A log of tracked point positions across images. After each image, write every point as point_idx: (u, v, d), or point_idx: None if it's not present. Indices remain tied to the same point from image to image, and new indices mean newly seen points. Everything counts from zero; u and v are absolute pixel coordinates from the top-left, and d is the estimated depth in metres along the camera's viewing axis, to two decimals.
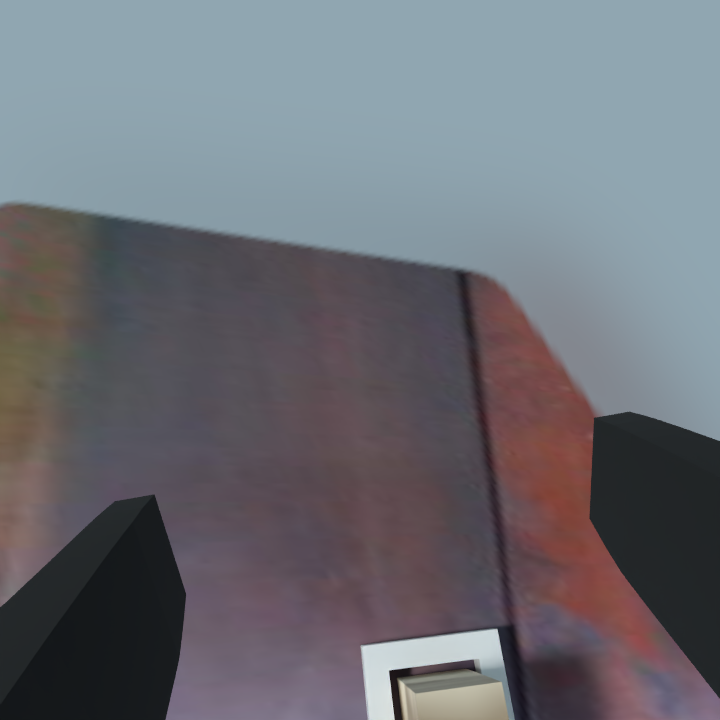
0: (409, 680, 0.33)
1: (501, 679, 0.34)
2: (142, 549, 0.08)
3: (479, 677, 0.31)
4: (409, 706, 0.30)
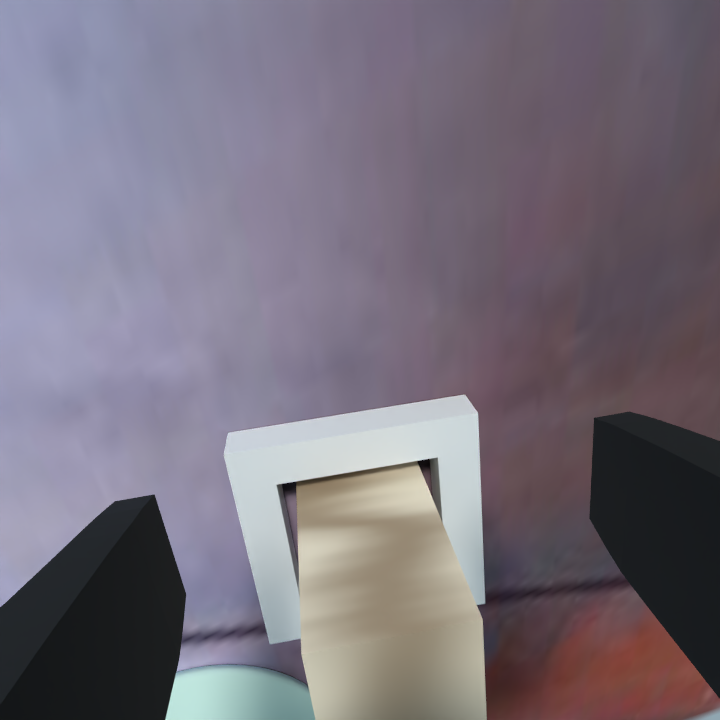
0: None
1: None
2: (142, 549, 0.08)
3: None
4: (416, 540, 0.16)
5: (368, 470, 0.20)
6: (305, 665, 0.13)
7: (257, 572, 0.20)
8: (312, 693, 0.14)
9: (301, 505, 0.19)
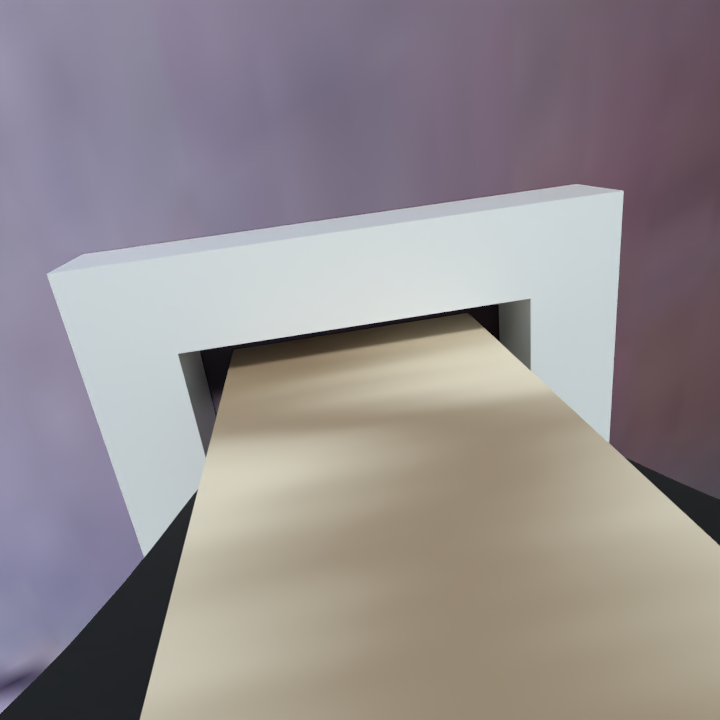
0: None
1: None
2: None
3: None
4: (517, 450, 0.06)
5: (380, 340, 0.10)
6: None
7: None
8: None
9: (231, 397, 0.08)
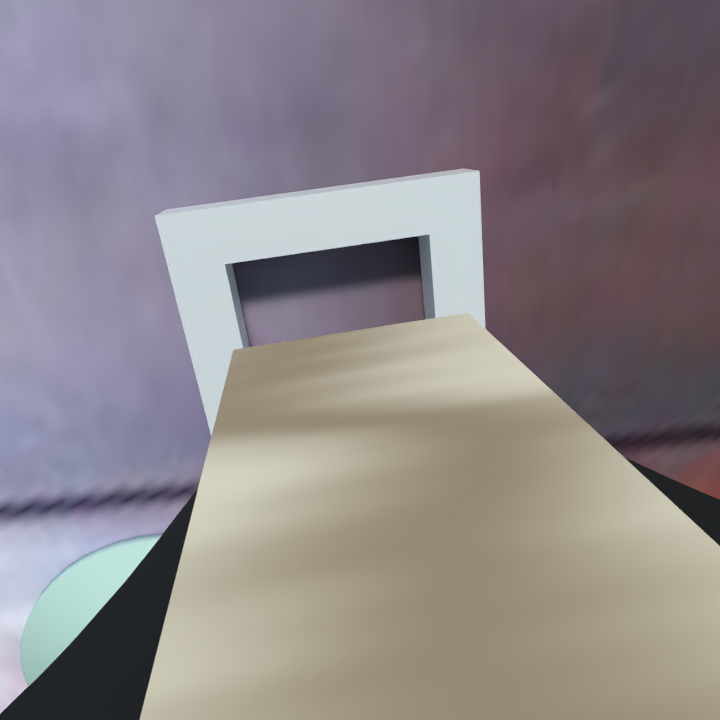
0: None
1: None
2: None
3: None
4: (516, 450, 0.06)
5: (380, 340, 0.10)
6: None
7: (206, 390, 0.16)
8: None
9: (231, 397, 0.08)
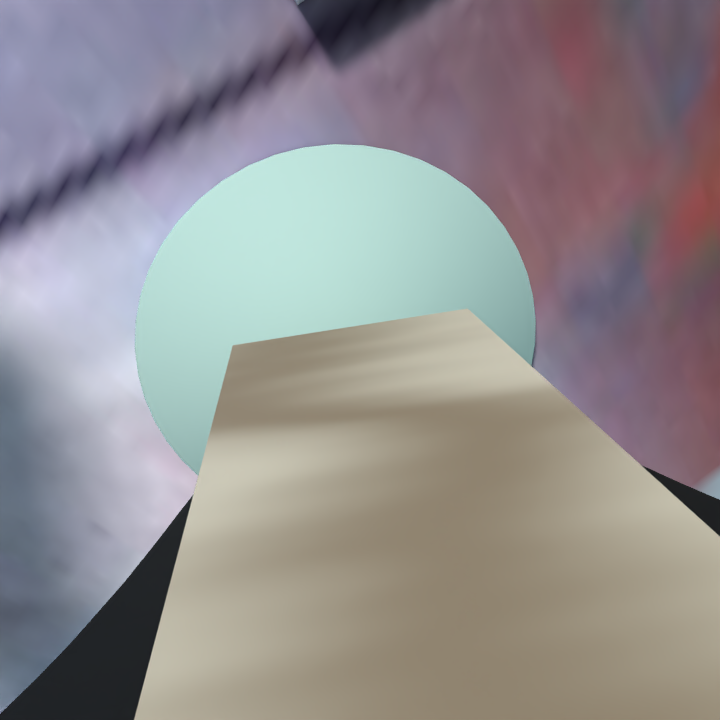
0: None
1: None
2: None
3: None
4: (516, 442, 0.06)
5: (379, 335, 0.10)
6: None
7: None
8: None
9: (230, 391, 0.08)
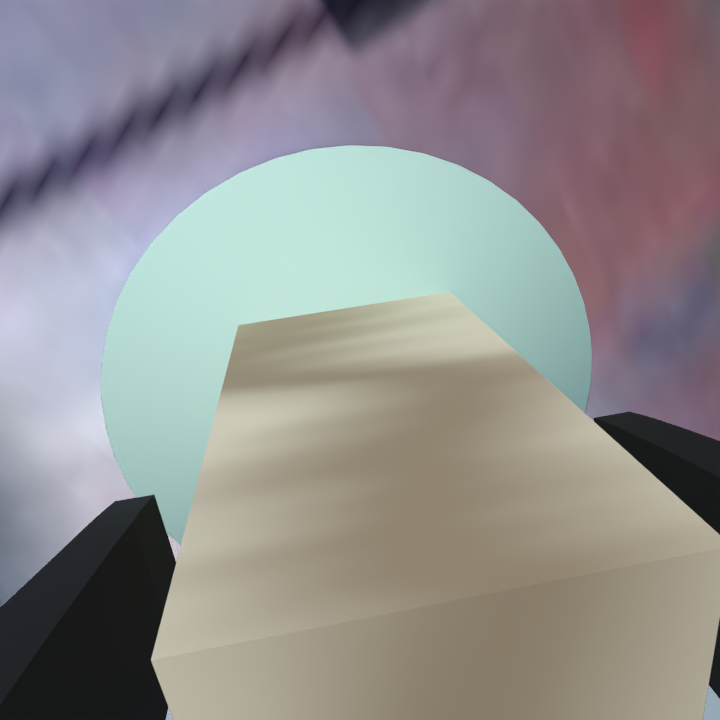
0: None
1: None
2: (142, 549, 0.08)
3: None
4: (479, 394, 0.07)
5: (370, 314, 0.11)
6: (170, 695, 0.04)
7: None
8: None
9: (237, 361, 0.09)
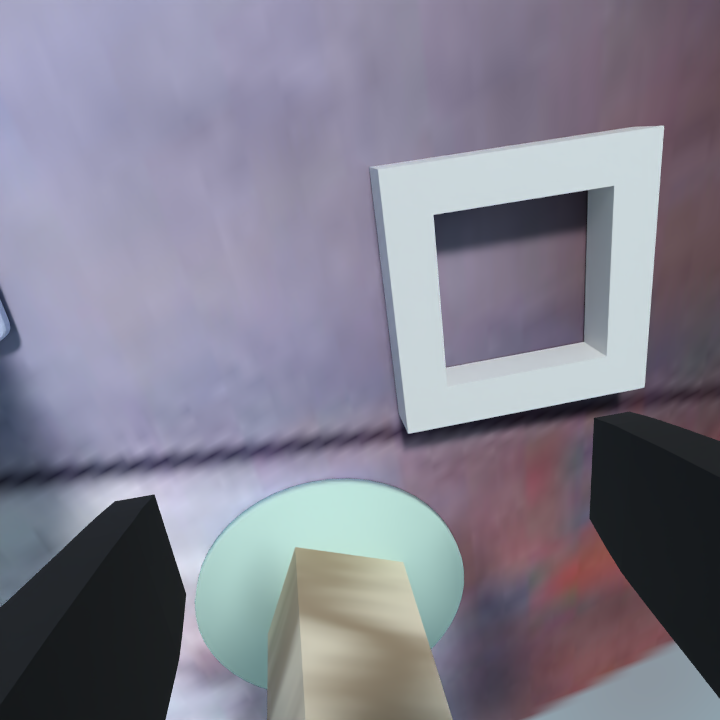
0: None
1: (571, 393, 0.19)
2: (142, 549, 0.08)
3: None
4: (408, 663, 0.18)
5: (363, 569, 0.21)
6: None
7: (402, 335, 0.18)
8: None
9: (301, 588, 0.19)
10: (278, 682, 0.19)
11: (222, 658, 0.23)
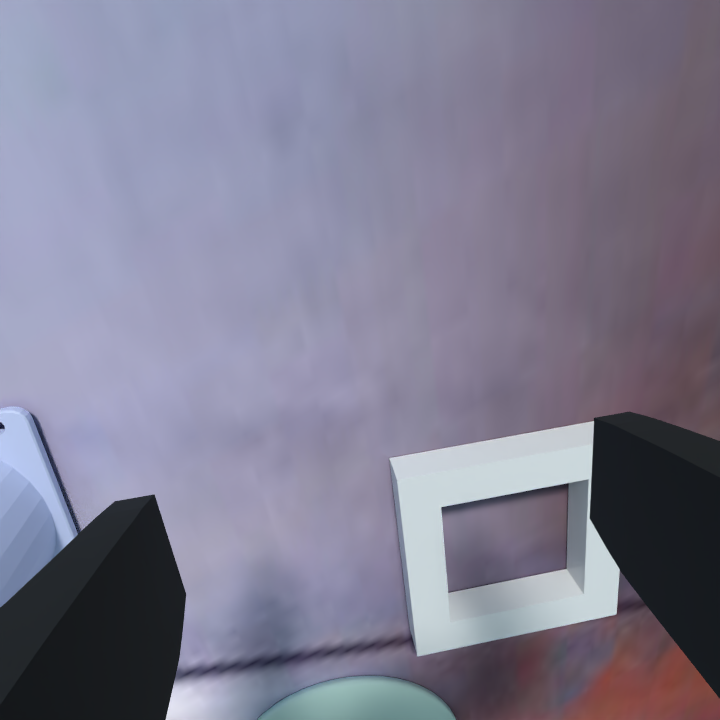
0: None
1: (554, 621, 0.23)
2: (142, 549, 0.08)
3: None
4: None
5: None
6: None
7: (414, 589, 0.21)
8: None
9: None
10: None
11: None
